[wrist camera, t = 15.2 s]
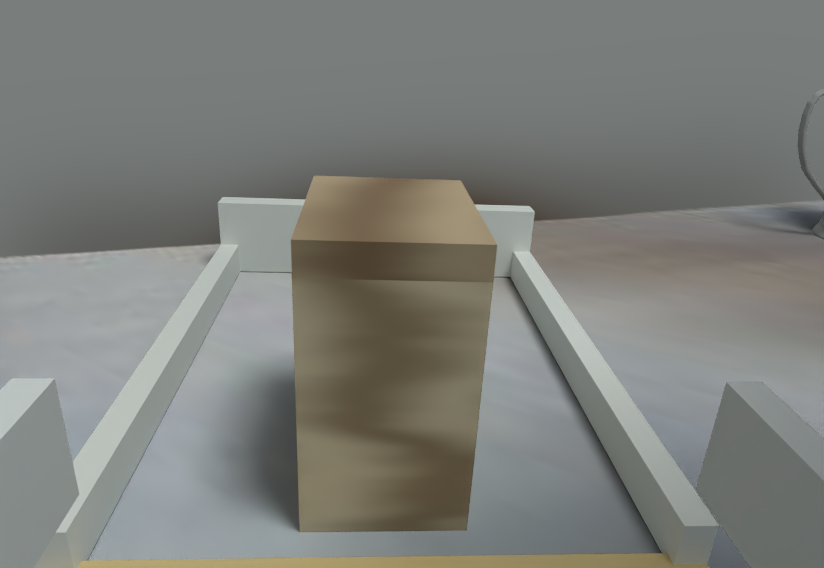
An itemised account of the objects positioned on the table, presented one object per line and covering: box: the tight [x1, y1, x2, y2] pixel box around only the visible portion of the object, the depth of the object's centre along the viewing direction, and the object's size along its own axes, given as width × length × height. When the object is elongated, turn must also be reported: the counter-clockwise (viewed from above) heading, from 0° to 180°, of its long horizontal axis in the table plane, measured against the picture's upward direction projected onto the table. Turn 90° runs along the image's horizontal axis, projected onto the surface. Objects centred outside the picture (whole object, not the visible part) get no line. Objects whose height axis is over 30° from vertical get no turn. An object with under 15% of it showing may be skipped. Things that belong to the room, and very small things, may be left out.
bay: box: [34, 197, 719, 568], centre depth 32 cm, size 22×29×5 cm
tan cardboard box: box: [291, 176, 497, 532], centre depth 24 cm, size 6×8×11 cm
